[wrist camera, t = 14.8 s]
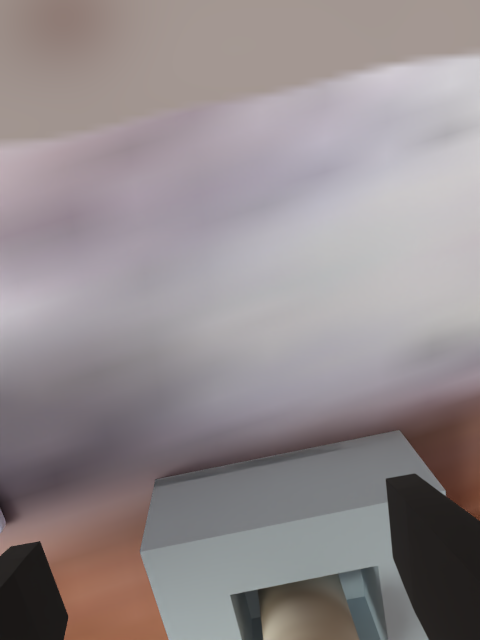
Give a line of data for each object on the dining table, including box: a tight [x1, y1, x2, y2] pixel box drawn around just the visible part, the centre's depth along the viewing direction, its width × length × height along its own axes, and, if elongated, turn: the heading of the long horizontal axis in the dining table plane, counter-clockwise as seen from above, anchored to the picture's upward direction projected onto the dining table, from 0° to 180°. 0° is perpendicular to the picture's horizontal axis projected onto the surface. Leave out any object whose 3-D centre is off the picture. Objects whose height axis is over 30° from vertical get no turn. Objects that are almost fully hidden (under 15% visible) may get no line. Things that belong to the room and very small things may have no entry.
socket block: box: [140, 430, 446, 640], centre depth 19 cm, size 11×11×4 cm
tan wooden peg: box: [258, 574, 359, 640], centre depth 17 cm, size 4×4×7 cm
